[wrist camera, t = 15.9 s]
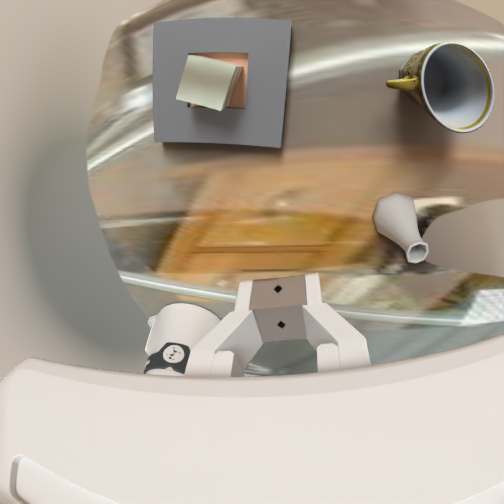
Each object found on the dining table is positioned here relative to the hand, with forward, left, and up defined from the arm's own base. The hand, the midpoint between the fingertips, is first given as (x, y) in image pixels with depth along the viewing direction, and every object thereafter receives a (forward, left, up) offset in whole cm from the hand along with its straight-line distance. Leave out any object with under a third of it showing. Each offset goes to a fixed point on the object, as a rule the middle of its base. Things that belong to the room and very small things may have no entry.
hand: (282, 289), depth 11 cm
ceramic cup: (+10, -16, -29) cm, 35 cm away
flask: (-10, -18, -29) cm, 36 cm away
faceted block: (+6, +8, -28) cm, 30 cm away
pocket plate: (+6, +8, -29) cm, 31 cm away
